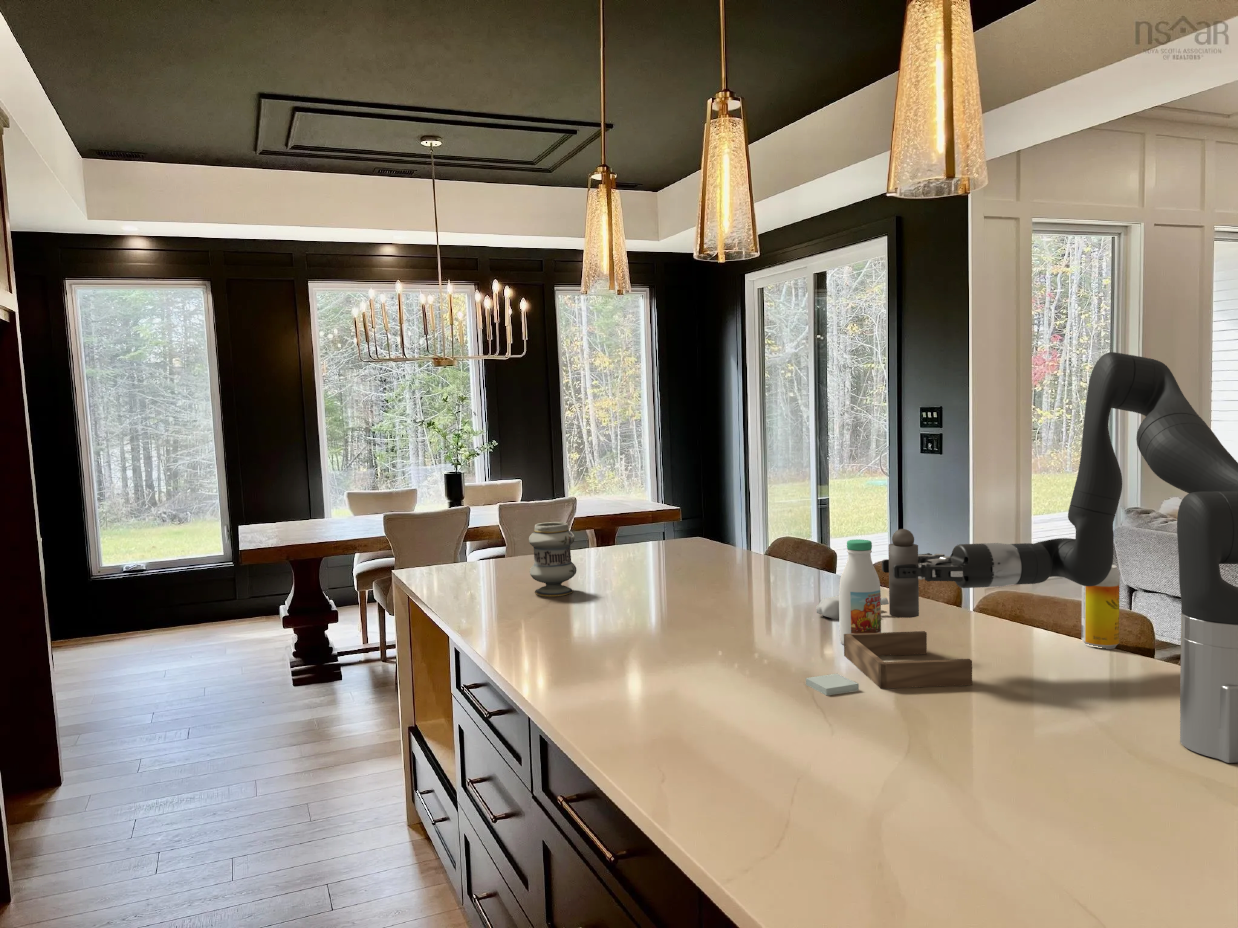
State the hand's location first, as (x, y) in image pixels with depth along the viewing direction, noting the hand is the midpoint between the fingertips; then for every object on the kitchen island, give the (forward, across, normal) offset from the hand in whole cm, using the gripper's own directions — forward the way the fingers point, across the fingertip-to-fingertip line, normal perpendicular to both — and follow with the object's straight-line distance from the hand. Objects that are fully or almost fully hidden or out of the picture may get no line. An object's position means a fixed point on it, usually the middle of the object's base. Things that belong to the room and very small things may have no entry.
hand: (888, 568), depth 144 cm
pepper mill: (-3, 0, +8) cm, 8 cm away
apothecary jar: (+61, -75, +18) cm, 98 cm away
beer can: (-43, -10, +18) cm, 48 cm away
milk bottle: (0, -17, +18) cm, 25 cm away
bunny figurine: (-6, -40, +18) cm, 44 cm away
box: (-2, 0, +18) cm, 18 cm away
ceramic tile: (+13, +8, +18) cm, 23 cm away
